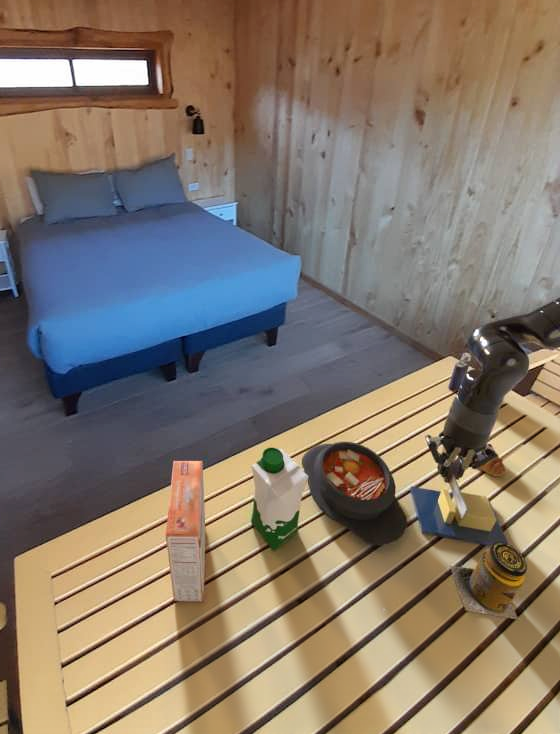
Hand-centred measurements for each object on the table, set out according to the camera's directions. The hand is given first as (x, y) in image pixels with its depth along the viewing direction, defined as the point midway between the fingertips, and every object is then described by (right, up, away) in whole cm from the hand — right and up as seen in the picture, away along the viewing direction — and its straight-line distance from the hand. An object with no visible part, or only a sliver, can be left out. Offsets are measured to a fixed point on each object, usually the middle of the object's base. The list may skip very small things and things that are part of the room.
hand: (448, 474), depth 88 cm
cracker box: (-57, -13, -9) cm, 59 cm away
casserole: (-21, -6, +3) cm, 22 cm away
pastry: (+14, -1, +11) cm, 18 cm away
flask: (+24, +11, +34) cm, 43 cm away
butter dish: (+1, -8, -2) cm, 9 cm away
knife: (-1, -2, -2) cm, 3 cm away
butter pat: (-2, -7, -2) cm, 8 cm away
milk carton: (-39, -10, -3) cm, 40 cm away
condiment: (-3, -14, -14) cm, 20 cm away
